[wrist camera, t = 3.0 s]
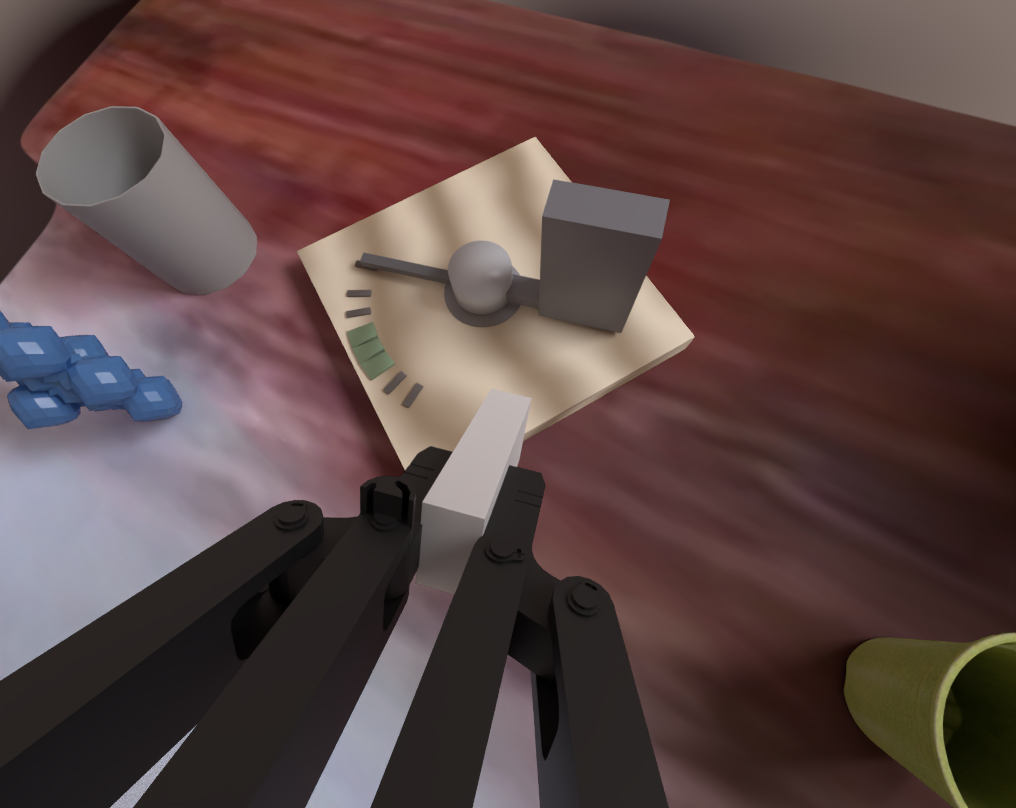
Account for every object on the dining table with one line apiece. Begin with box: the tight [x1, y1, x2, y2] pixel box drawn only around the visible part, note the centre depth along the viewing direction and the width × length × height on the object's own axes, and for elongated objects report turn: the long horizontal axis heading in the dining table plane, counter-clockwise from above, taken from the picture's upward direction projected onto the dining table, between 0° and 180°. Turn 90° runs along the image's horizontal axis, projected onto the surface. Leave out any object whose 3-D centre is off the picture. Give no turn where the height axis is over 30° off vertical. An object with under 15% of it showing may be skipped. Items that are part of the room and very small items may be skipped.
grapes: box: [0, 311, 182, 429], centre depth 28 cm, size 12×7×12 cm, turn 69°
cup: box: [36, 106, 257, 295], centre depth 33 cm, size 8×8×10 cm
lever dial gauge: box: [360, 179, 670, 333], centre depth 28 cm, size 20×4×10 cm, turn 75°
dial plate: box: [297, 137, 695, 470], centre depth 34 cm, size 22×22×2 cm
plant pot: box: [844, 633, 1016, 808], centre depth 21 cm, size 9×9×9 cm
